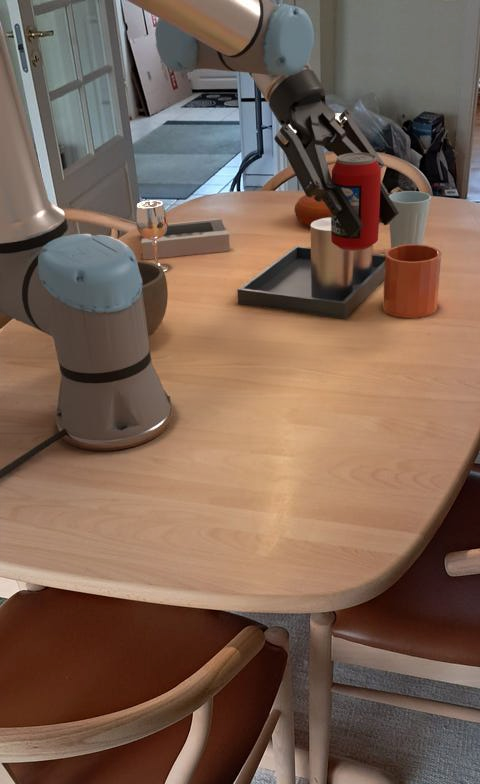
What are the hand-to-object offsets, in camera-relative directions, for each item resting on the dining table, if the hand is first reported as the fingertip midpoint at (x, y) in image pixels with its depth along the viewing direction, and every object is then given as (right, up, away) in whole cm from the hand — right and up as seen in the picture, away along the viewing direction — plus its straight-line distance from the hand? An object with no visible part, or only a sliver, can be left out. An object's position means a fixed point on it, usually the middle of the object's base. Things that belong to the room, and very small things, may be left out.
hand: (374, 225), depth 116 cm
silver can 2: (+1, +2, +31) cm, 31 cm away
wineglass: (-35, +7, +43) cm, 56 cm away
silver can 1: (-3, -3, +25) cm, 25 cm away
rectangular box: (-30, +16, +55) cm, 65 cm away
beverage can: (-2, -2, +4) cm, 5 cm away
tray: (-5, 0, +30) cm, 31 cm away
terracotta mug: (+10, -5, +21) cm, 24 cm away
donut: (0, +22, +61) cm, 65 cm away
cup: (+13, +9, +42) cm, 44 cm away
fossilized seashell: (+15, +23, +60) cm, 66 cm away
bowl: (-38, -11, +19) cm, 44 cm away
